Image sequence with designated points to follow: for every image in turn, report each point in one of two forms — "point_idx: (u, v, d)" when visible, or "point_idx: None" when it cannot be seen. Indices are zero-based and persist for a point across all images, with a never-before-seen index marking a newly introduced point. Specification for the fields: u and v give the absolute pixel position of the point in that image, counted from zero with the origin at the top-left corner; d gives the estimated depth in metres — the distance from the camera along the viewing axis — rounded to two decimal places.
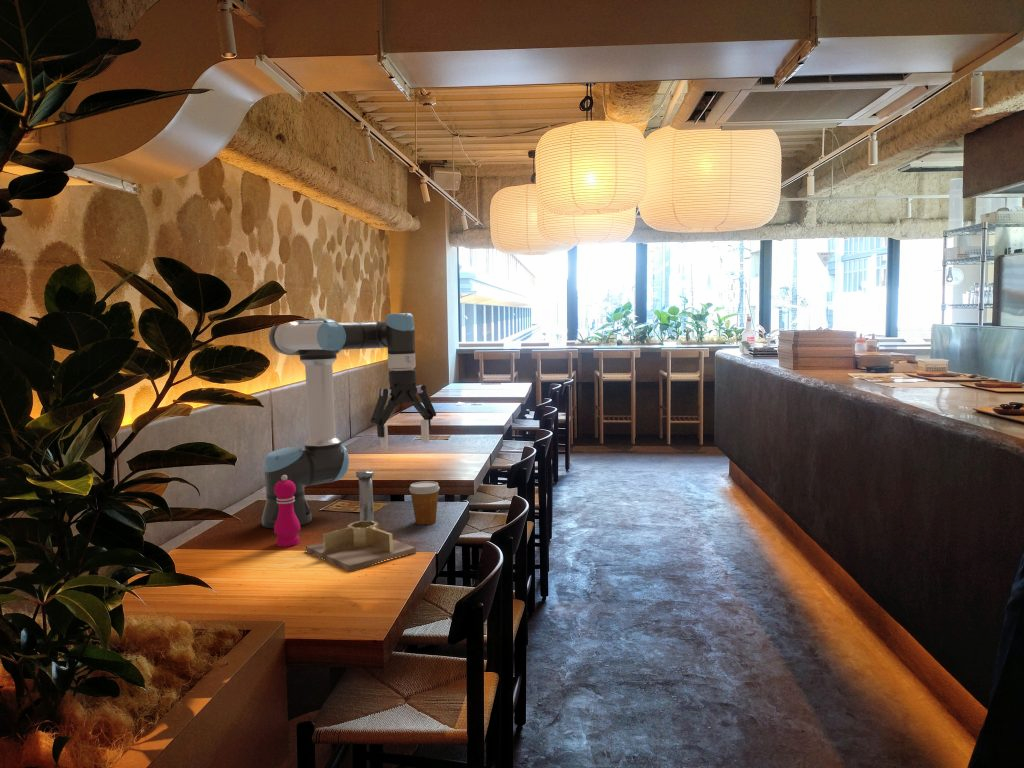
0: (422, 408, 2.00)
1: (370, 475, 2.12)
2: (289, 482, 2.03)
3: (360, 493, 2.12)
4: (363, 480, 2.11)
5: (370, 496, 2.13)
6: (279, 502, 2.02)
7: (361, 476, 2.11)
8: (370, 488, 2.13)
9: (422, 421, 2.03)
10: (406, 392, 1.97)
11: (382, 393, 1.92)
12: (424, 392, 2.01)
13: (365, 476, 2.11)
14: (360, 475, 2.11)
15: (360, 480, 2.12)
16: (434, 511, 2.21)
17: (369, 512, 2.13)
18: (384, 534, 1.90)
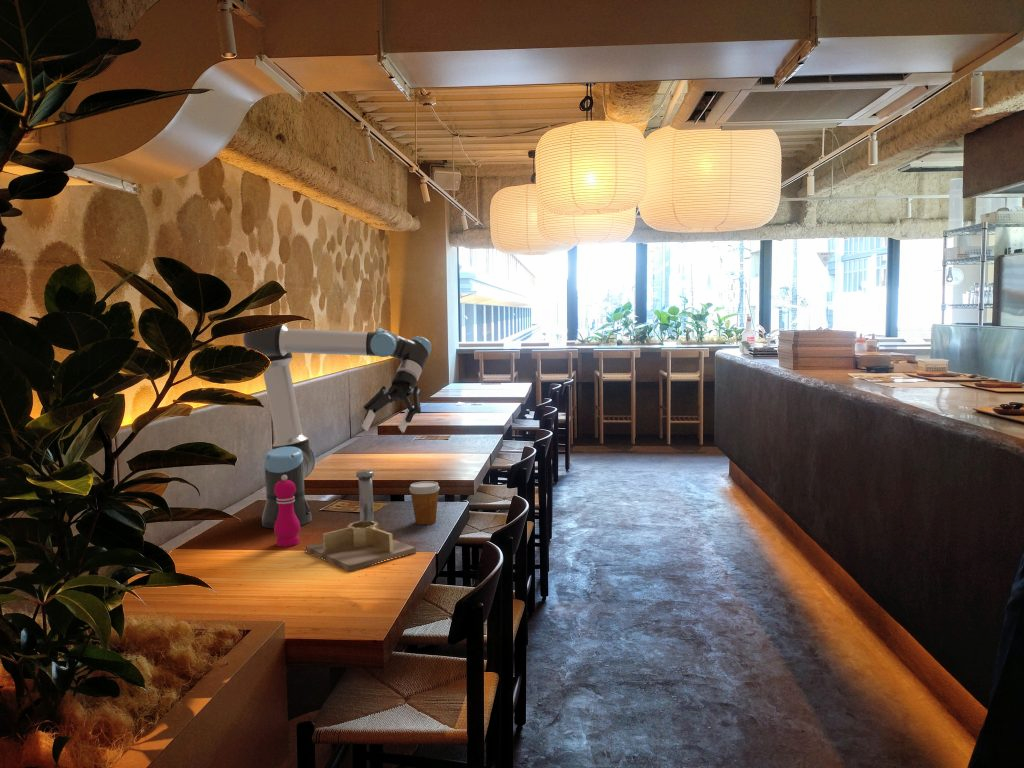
0: None
1: (370, 475, 2.12)
2: (289, 482, 2.03)
3: (360, 493, 2.12)
4: (363, 480, 2.11)
5: (370, 496, 2.13)
6: (279, 502, 2.02)
7: (361, 476, 2.11)
8: (370, 488, 2.13)
9: (372, 412, 2.27)
10: None
11: (419, 392, 2.28)
12: None
13: (365, 476, 2.11)
14: (360, 475, 2.11)
15: (360, 480, 2.12)
16: (434, 511, 2.21)
17: (369, 512, 2.13)
18: (384, 534, 1.90)
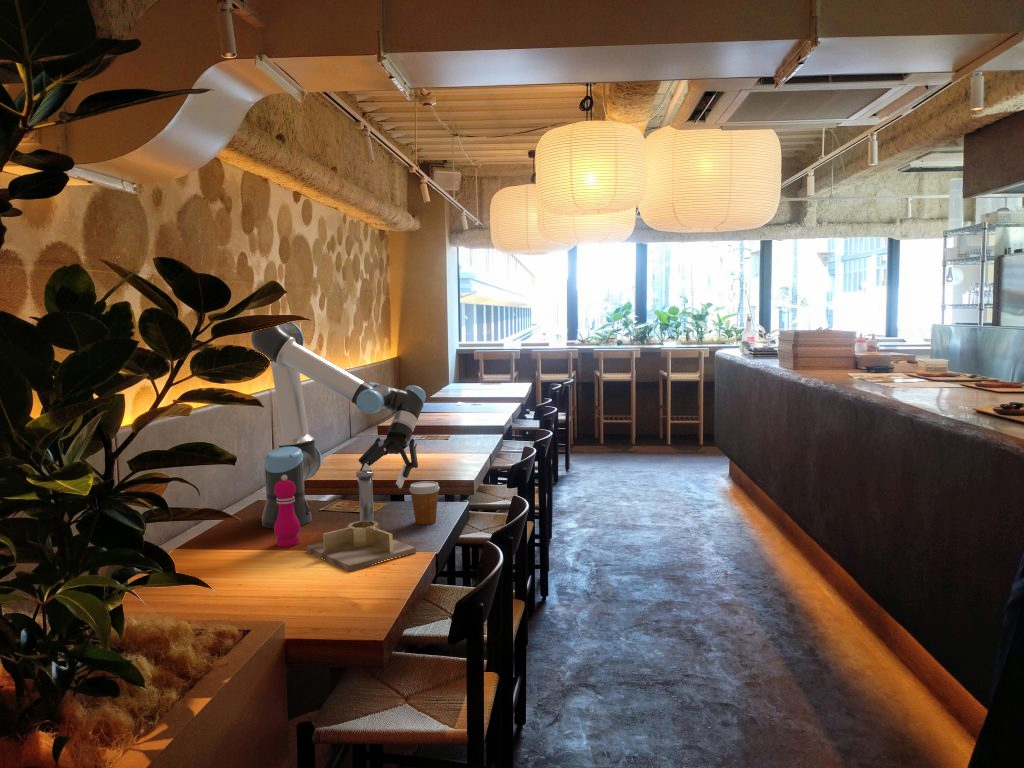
0: None
1: (370, 475, 2.12)
2: (289, 482, 2.03)
3: (360, 493, 2.12)
4: (363, 480, 2.11)
5: (370, 496, 2.13)
6: (279, 502, 2.02)
7: (361, 476, 2.11)
8: (370, 488, 2.13)
9: (367, 466, 2.23)
10: None
11: (415, 445, 2.24)
12: None
13: (365, 476, 2.11)
14: (360, 475, 2.11)
15: (360, 480, 2.12)
16: (434, 511, 2.21)
17: (369, 512, 2.13)
18: (384, 534, 1.90)
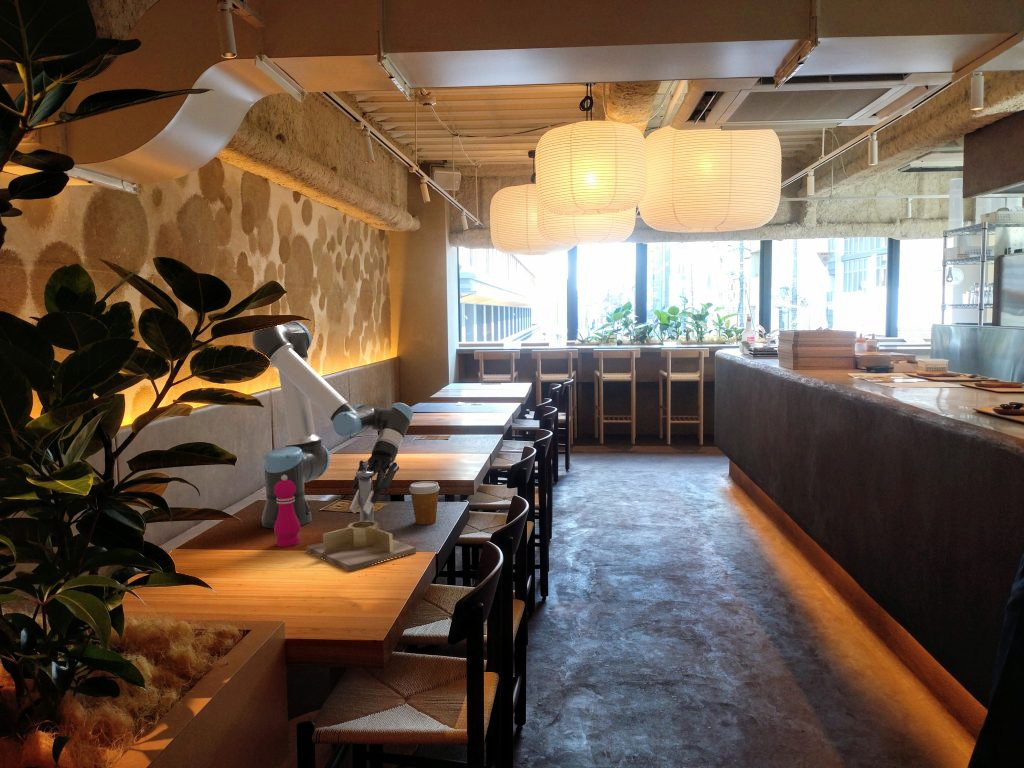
0: None
1: (370, 475, 2.12)
2: (289, 482, 2.03)
3: (360, 493, 2.12)
4: (363, 480, 2.11)
5: None
6: (279, 502, 2.02)
7: (361, 476, 2.11)
8: (370, 488, 2.13)
9: None
10: None
11: (396, 469, 2.18)
12: None
13: (365, 476, 2.11)
14: (360, 475, 2.11)
15: (360, 480, 2.12)
16: (434, 511, 2.21)
17: None
18: (384, 534, 1.90)
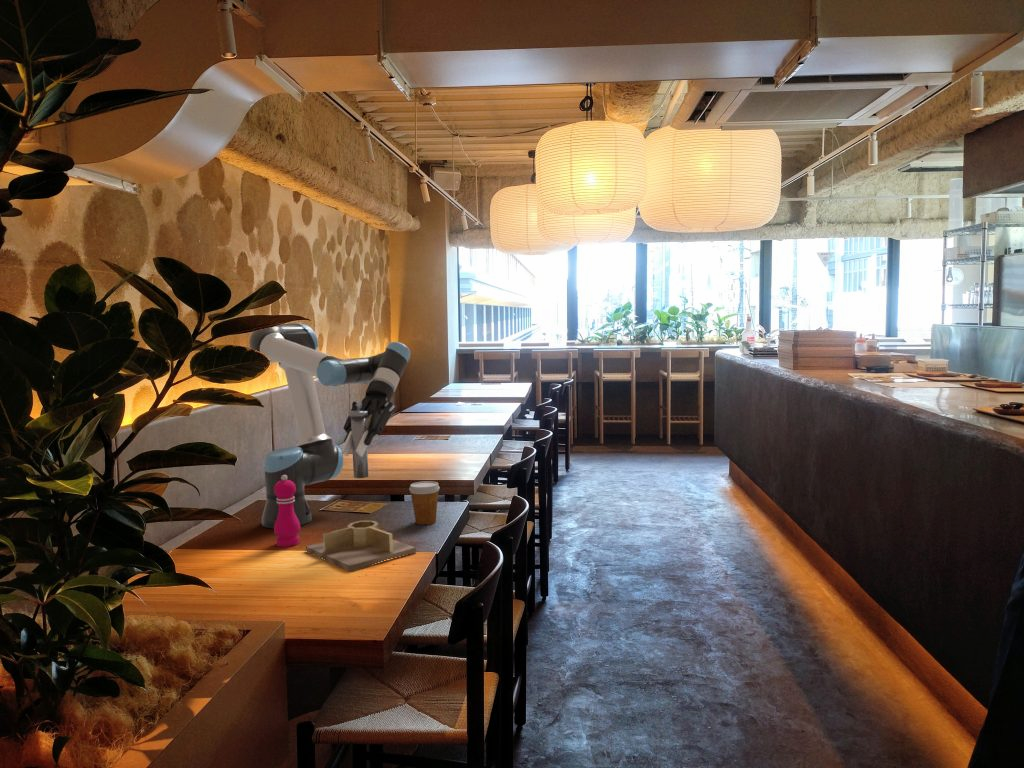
0: None
1: (364, 414, 1.95)
2: (289, 482, 2.03)
3: (353, 434, 1.95)
4: (356, 419, 1.94)
5: None
6: (279, 502, 2.02)
7: (354, 415, 1.94)
8: (364, 429, 1.95)
9: None
10: None
11: (392, 409, 2.01)
12: None
13: (358, 415, 1.94)
14: (353, 414, 1.94)
15: (353, 420, 1.95)
16: (434, 511, 2.21)
17: (363, 455, 1.96)
18: (384, 534, 1.90)
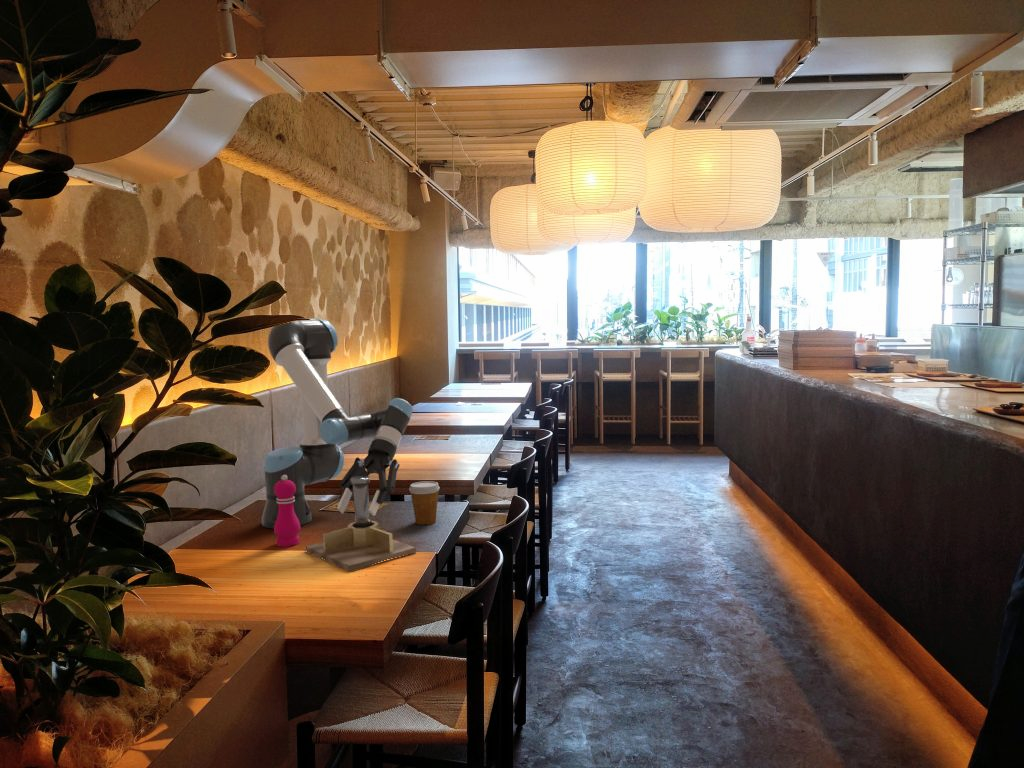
0: None
1: (366, 482, 1.95)
2: (289, 482, 2.03)
3: (355, 501, 1.96)
4: (358, 487, 1.95)
5: (366, 504, 1.96)
6: (279, 502, 2.02)
7: (356, 483, 1.94)
8: (366, 495, 1.96)
9: (348, 491, 2.00)
10: None
11: (397, 466, 2.02)
12: None
13: (360, 483, 1.94)
14: (355, 482, 1.94)
15: (355, 487, 1.95)
16: (434, 511, 2.21)
17: (365, 522, 1.97)
18: (384, 534, 1.90)
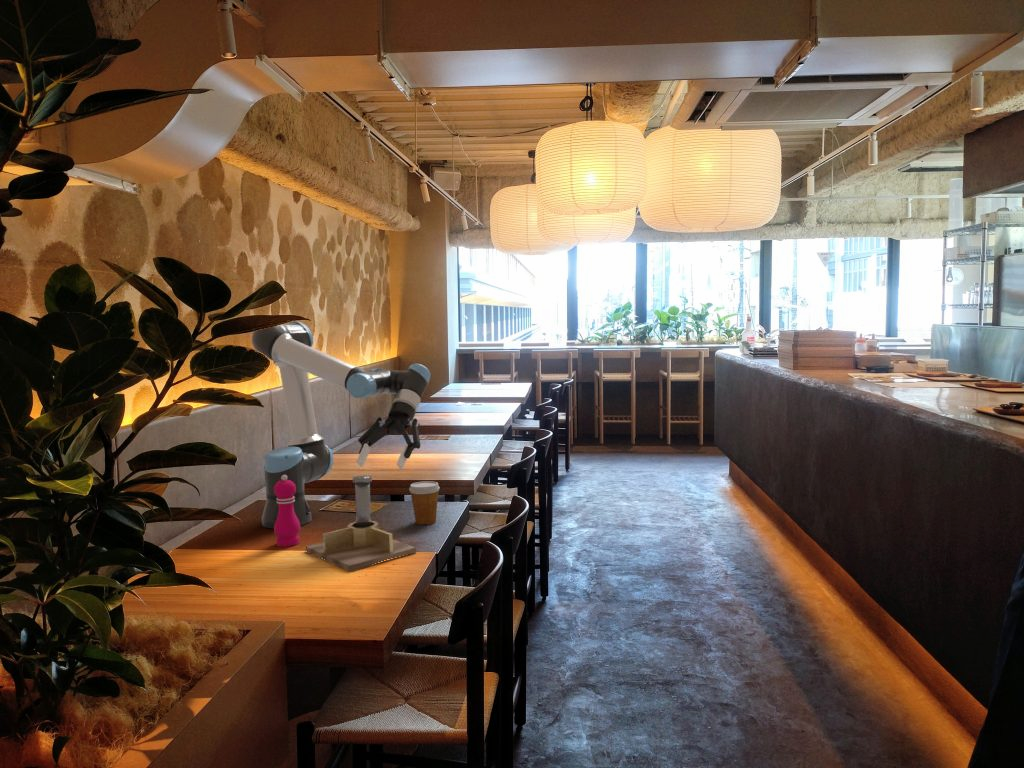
0: None
1: (368, 480, 1.96)
2: (289, 482, 2.03)
3: (357, 500, 1.97)
4: (360, 485, 1.96)
5: (367, 503, 1.97)
6: (279, 502, 2.02)
7: (358, 481, 1.96)
8: (367, 495, 1.97)
9: (367, 446, 2.12)
10: None
11: (418, 424, 2.13)
12: None
13: (362, 481, 1.96)
14: (357, 480, 1.96)
15: (357, 485, 1.96)
16: (434, 511, 2.21)
17: (366, 521, 1.97)
18: (384, 534, 1.90)
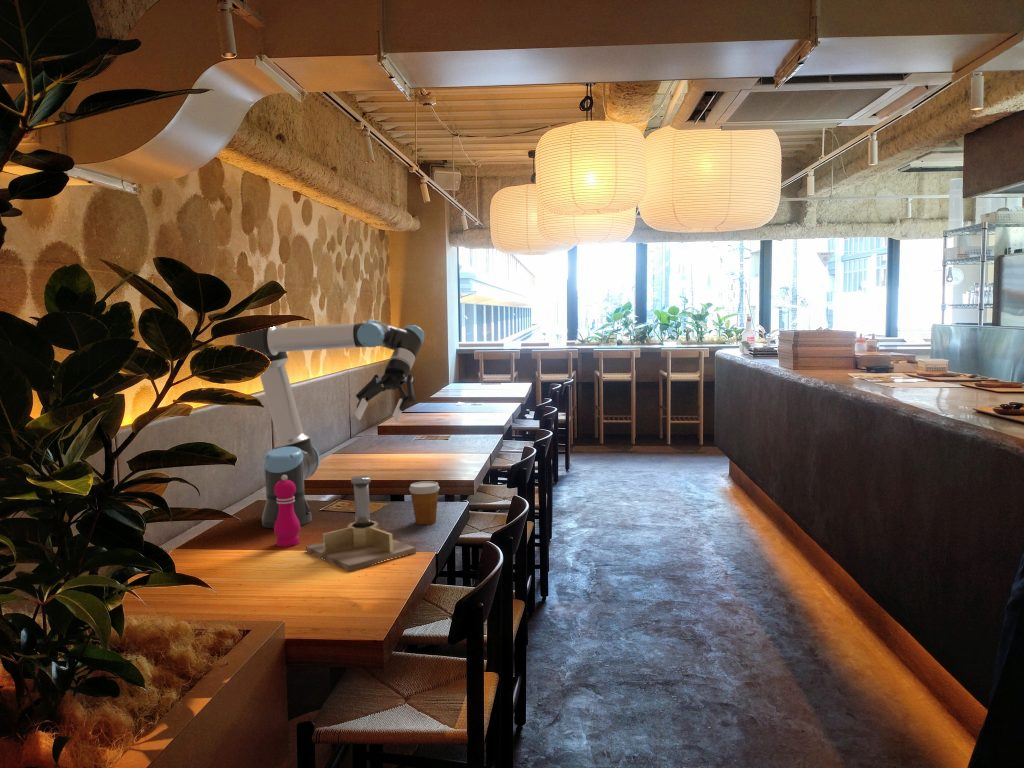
0: None
1: (366, 481, 1.95)
2: (289, 482, 2.03)
3: (356, 501, 1.96)
4: (359, 486, 1.95)
5: (366, 504, 1.97)
6: (279, 502, 2.02)
7: (357, 483, 1.95)
8: (366, 495, 1.96)
9: (364, 401, 2.23)
10: None
11: (413, 380, 2.24)
12: None
13: (361, 483, 1.95)
14: (356, 482, 1.95)
15: (356, 487, 1.96)
16: (434, 511, 2.21)
17: (365, 522, 1.97)
18: (384, 534, 1.90)
